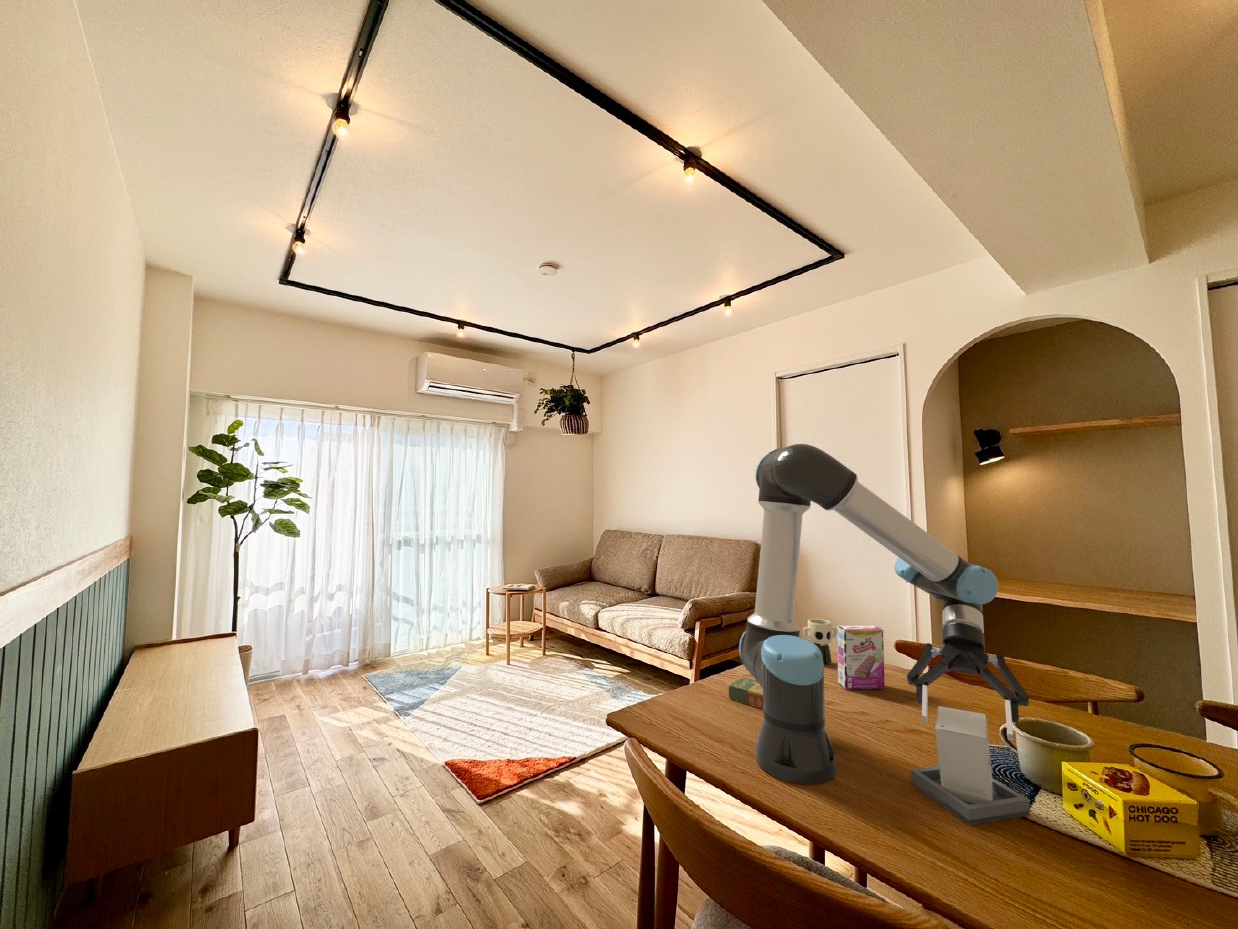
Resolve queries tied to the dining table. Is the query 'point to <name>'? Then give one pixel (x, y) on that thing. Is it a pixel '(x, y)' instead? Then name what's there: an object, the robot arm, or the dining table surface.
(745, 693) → the carton
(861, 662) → the candy bar box
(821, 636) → the character mug
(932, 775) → the holder tray
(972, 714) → the supplement box
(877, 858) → the dining table surface
